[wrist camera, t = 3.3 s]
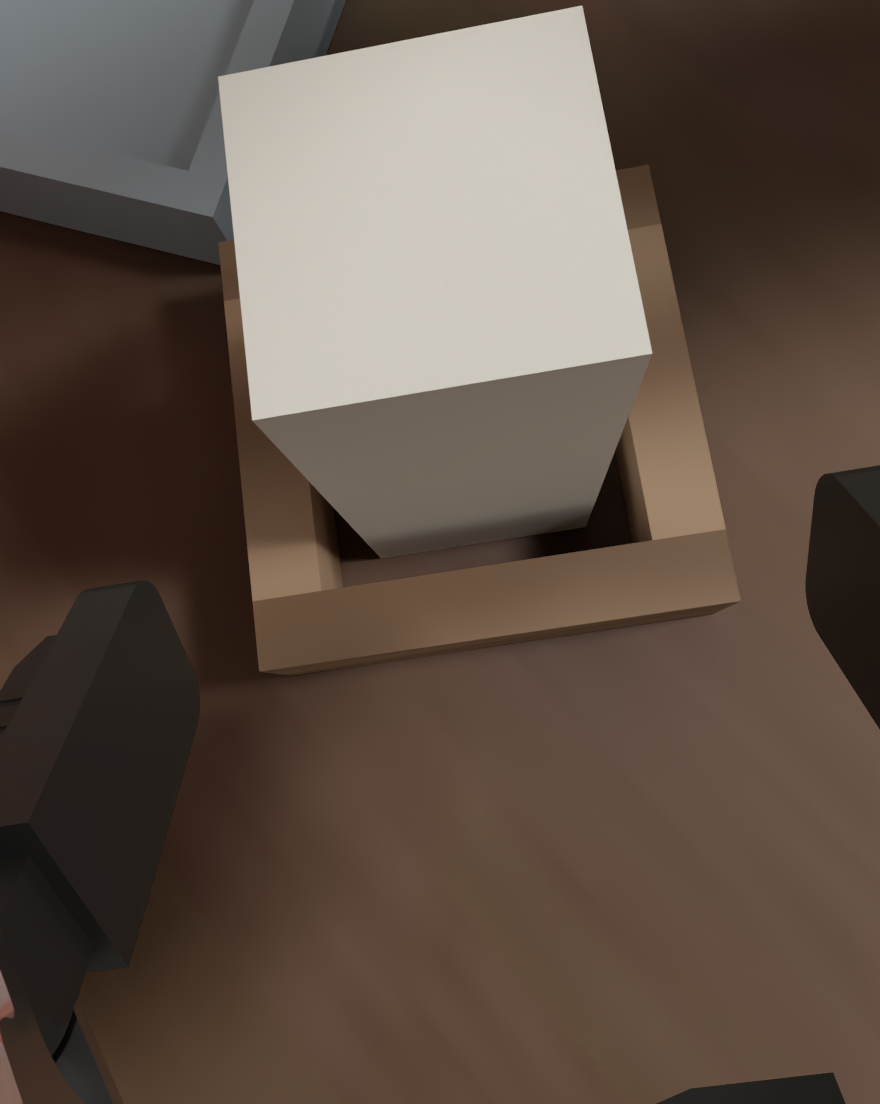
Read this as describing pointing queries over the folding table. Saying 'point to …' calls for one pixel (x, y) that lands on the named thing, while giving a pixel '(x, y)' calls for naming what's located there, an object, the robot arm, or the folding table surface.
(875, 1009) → the folding table surface
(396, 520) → the tall white pillar
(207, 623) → the folding table surface
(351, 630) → the wooden square frame
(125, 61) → the tray
